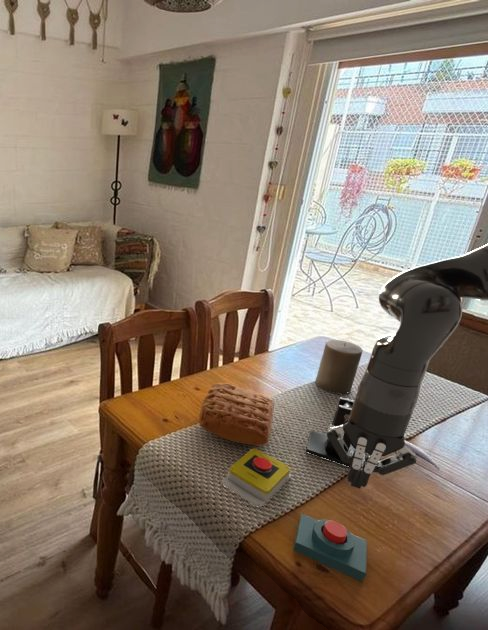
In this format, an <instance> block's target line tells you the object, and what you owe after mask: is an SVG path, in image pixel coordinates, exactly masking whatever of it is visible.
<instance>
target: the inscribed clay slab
mask: <svg viewBox="0 0 488 630" xmlns="http://www.w3.org/2000/svg"><path fill="white" fill-rule="evenodd" d="M274 409H275V403H274V401H273V400H272V399H270V398H269V397H268V396H266V395H264V394H261V393H258V392H255V391H253V390H250V389H248V388H245V387H241V386H238V385H233V384H230V383H220V382H216V383H213V384H212V385H211V387H210V388H209V390H208V391H207V394H206V395H205V397H204V400H203V402H202V404H201V407H200V412H199V420H198V423H199V426H200V427H201V429H204V430H205V431H207V432H209V433H212V434H214V435H216V436H219V437H221V438H222V439H225V440H228V441H231V442H234V443H239V444H243V445H251V446H264V445H267V444H268V442H269V440H270V437H271V433H272V427H273V416H274Z"/></svg>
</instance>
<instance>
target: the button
mask: <svg viewBox="0 0 488 630" xmlns="http://www.w3.org/2000/svg"><path fill="white" fill-rule="evenodd" d="M345 528H346V527H345V526H344V525H342V524H341V523H339V522H337V521H334V520H331V521H327V522H326V523H325V525H324V528H323V535H324V536H325V537H326V538H327V539H328V540H329V541H331V542H333V543H336V544H342V543H344V542H345V539H346V537H347V530H348V529H347V528H346V529H347V530H346V529H345Z"/></svg>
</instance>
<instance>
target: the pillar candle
mask: <svg viewBox="0 0 488 630" xmlns="http://www.w3.org/2000/svg"><path fill="white" fill-rule="evenodd" d="M363 351H364V350H363V347H361V346H360V345H358V344H356V343H354V342H351V341H348V340H344V339H343V340H342V339H329V340H327V341H325V344H324V348H323V353H322V354H321V355H322V356H321V359H320V362H319V365H318V369H317V374H316V376H315V381H314V382H315V384H316V386H318V388H321V389H322V390H324V391H326V392H328V391H330V392H329V393H332V392H334V393H333V394H336V393H342V394H341V395H345V394H344V393H347V392H349V393H351V391H352V387H353V384H354V381H355V379H356V375H357V371H358V368H359V364H360V362H361V358H362V355H363ZM347 394H348V393H347Z"/></svg>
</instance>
